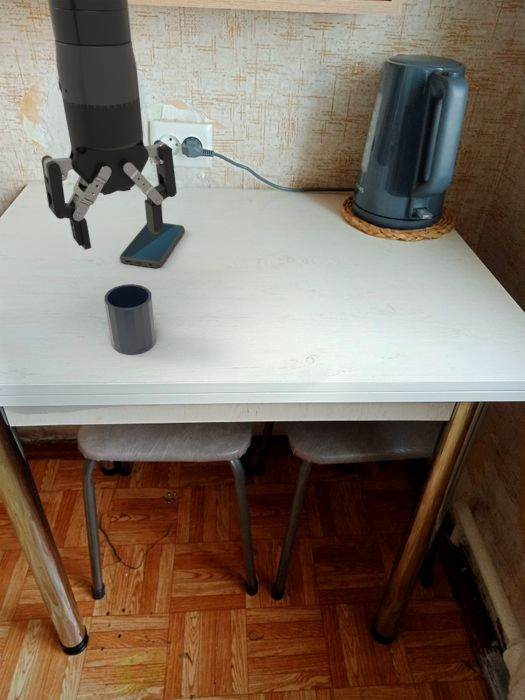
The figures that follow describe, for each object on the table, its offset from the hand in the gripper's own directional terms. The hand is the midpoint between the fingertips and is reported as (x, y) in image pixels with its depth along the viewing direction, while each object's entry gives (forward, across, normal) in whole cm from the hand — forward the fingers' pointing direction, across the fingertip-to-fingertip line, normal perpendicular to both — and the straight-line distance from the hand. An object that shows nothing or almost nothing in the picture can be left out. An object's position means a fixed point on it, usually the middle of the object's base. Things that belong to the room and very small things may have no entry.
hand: (120, 238), depth 61 cm
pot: (+16, 0, 0) cm, 16 cm away
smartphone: (+16, +14, +24) cm, 32 cm away
